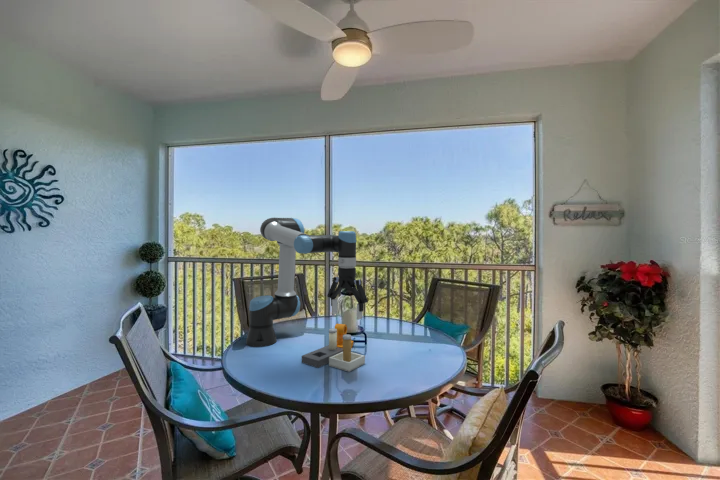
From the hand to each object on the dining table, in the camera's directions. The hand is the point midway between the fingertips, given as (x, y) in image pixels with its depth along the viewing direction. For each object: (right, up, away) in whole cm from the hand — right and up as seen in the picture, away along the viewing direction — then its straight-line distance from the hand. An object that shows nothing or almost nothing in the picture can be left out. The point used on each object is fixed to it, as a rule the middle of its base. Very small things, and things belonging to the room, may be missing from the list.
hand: (346, 316), depth 149 cm
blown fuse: (0, -20, 0) cm, 20 cm away
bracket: (-2, -21, +21) cm, 30 cm away
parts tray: (0, -21, 0) cm, 21 cm away
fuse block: (-10, -21, +7) cm, 24 cm away
